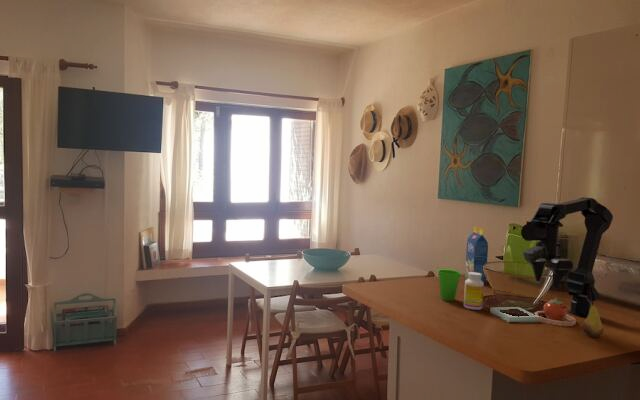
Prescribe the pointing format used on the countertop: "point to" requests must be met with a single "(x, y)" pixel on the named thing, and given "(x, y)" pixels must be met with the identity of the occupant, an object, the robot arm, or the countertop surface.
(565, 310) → the tomato
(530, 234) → the robot arm
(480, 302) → the supplement bottle
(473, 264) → the blue food package
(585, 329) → the fruit
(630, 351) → the countertop surface
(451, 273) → the cup
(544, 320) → the saucer ring
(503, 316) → the tray
